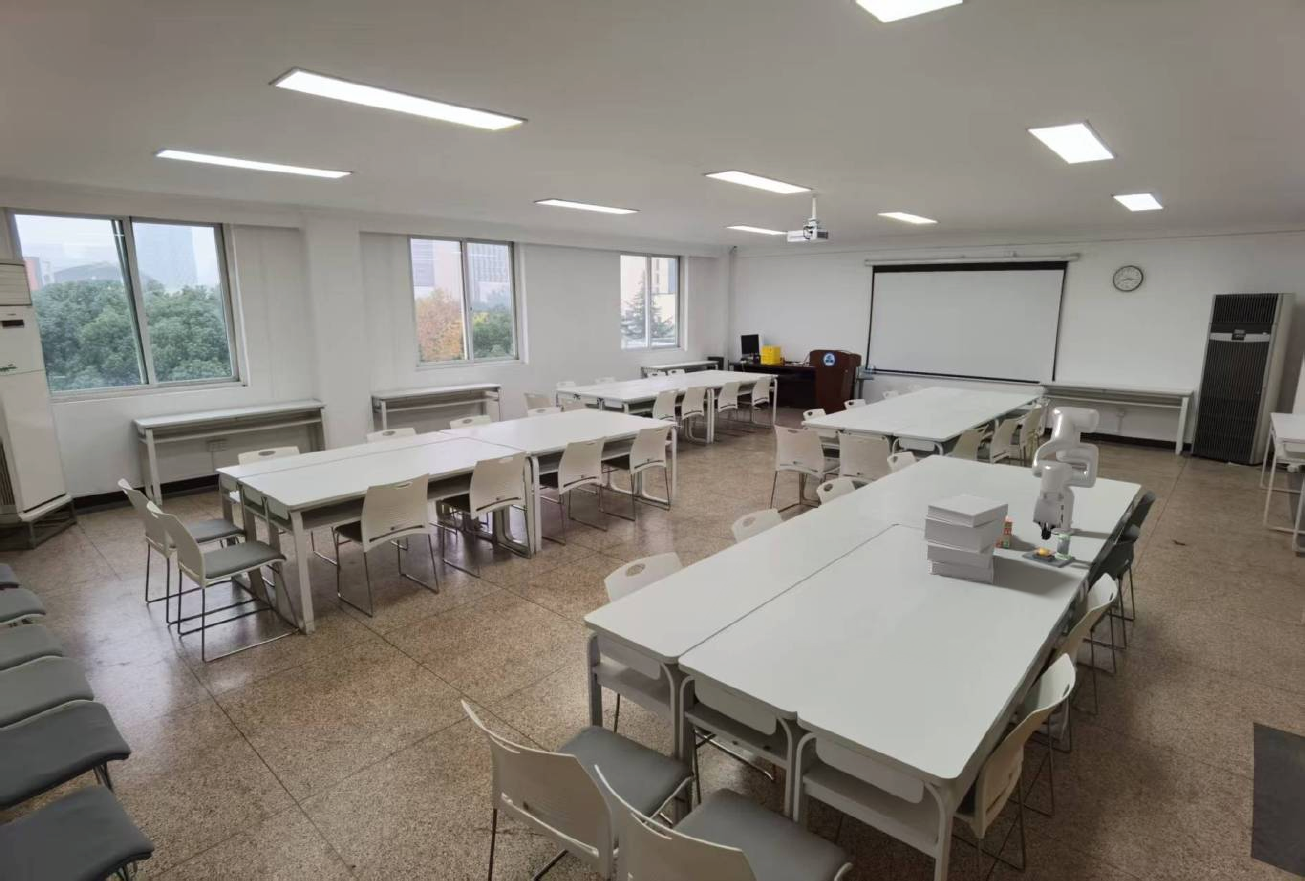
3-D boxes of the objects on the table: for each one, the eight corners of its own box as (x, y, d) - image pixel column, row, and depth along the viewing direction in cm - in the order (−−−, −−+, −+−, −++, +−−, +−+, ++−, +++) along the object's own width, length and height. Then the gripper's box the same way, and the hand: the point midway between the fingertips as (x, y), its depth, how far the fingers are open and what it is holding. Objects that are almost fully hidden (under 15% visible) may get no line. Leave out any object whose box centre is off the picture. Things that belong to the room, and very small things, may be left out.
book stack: (1000, 555, 274) (1006, 496, 269) (1005, 586, 243) (1012, 520, 238) (923, 545, 287) (927, 488, 282) (918, 573, 256) (923, 510, 251)
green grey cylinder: (1059, 553, 272) (1062, 533, 270) (1069, 556, 269) (1072, 536, 267) (1054, 555, 270) (1057, 534, 268) (1064, 558, 267) (1067, 537, 265)
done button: (1041, 552, 270) (1041, 548, 269) (1050, 555, 267) (1051, 550, 266) (1037, 554, 268) (1037, 550, 267) (1046, 557, 265) (1047, 552, 264)
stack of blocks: (978, 531, 304) (980, 506, 301) (992, 532, 303) (994, 506, 301) (994, 547, 283) (997, 520, 281) (1010, 548, 282) (1012, 521, 280)
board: (1039, 549, 280) (1039, 544, 280) (1075, 559, 269) (1075, 553, 268) (1022, 557, 272) (1022, 551, 271) (1058, 567, 260) (1059, 561, 260)
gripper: (1075, 498, 258) (1069, 542, 262) (1035, 490, 270) (1030, 532, 274) (1066, 500, 254) (1061, 546, 257) (1026, 492, 266) (1022, 536, 269)
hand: (1045, 539), depth 265 cm, fingers closed
